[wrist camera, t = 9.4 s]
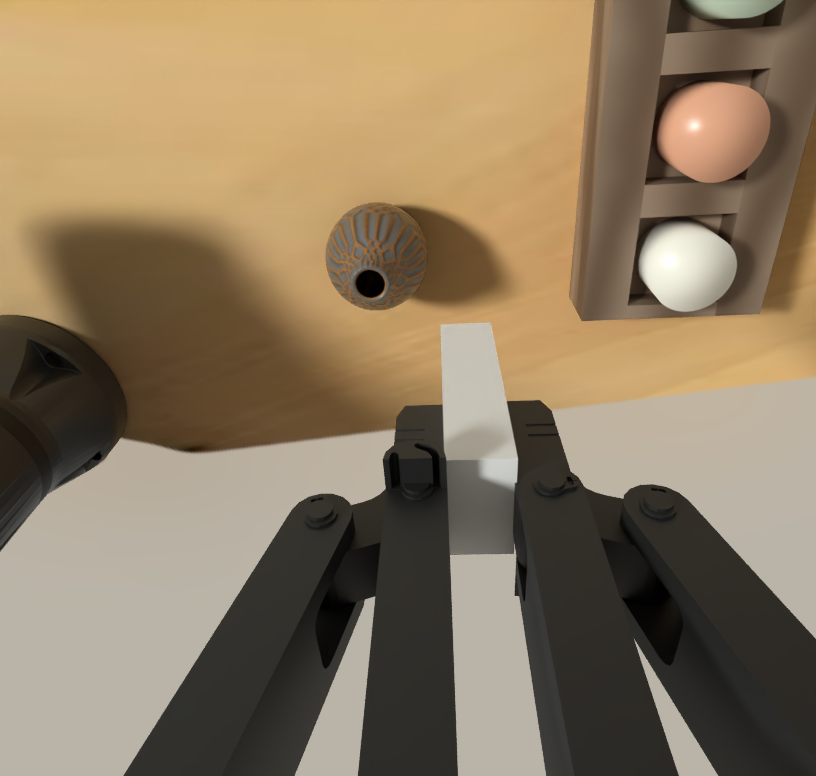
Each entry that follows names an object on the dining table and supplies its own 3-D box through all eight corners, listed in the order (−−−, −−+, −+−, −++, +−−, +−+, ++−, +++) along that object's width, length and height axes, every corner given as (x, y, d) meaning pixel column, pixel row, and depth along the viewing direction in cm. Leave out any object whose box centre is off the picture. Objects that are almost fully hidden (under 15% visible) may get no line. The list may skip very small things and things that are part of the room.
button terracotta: (646, 171, 37) (667, 185, 34) (658, 82, 35) (683, 88, 31) (727, 166, 37) (757, 180, 33) (746, 77, 34) (781, 81, 31)
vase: (447, 229, 42) (450, 272, 35) (393, 302, 46) (386, 354, 38) (366, 172, 41) (351, 204, 33) (317, 251, 44) (292, 297, 36)
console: (569, 296, 45) (581, 320, 41) (604, -111, 32) (626, -130, 29) (731, 289, 44) (759, 313, 40) (831, -130, 32) (885, -152, 28)
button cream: (629, 289, 41) (647, 313, 38) (639, 218, 39) (659, 236, 35) (702, 287, 41) (727, 310, 38) (717, 214, 38) (745, 232, 35)
